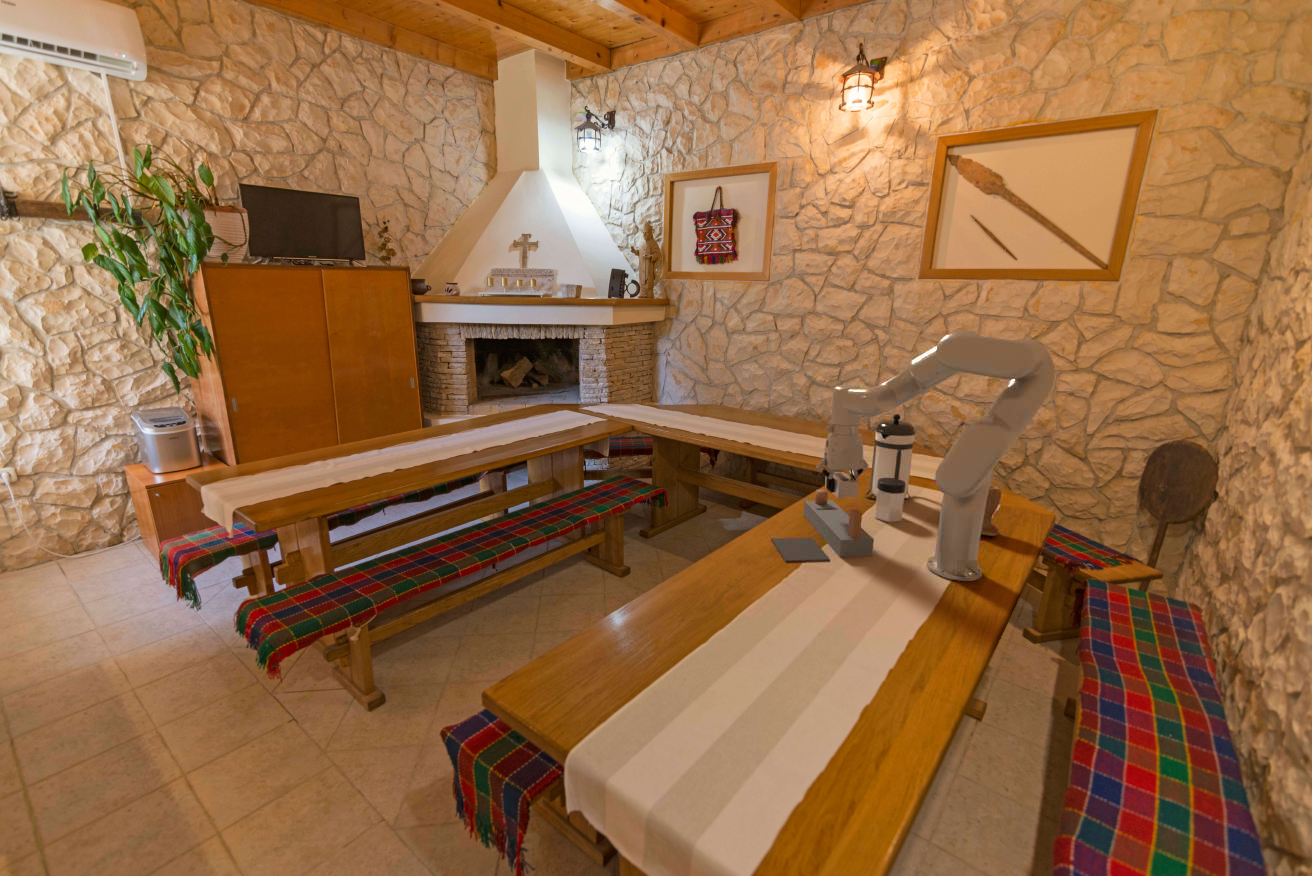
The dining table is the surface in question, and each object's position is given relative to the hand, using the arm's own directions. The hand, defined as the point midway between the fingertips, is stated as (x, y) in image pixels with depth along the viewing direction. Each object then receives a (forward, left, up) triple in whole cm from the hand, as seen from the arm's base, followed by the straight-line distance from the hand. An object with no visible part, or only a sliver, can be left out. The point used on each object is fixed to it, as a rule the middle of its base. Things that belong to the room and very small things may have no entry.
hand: (840, 490), depth 163 cm
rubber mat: (-10, +14, -14) cm, 22 cm away
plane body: (0, 0, -14) cm, 14 cm away
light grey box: (0, 0, 0) cm, 0 cm away
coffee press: (+30, -31, -14) cm, 45 cm away
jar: (+12, -22, -14) cm, 29 cm away
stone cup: (+1, -42, -14) cm, 44 cm away
